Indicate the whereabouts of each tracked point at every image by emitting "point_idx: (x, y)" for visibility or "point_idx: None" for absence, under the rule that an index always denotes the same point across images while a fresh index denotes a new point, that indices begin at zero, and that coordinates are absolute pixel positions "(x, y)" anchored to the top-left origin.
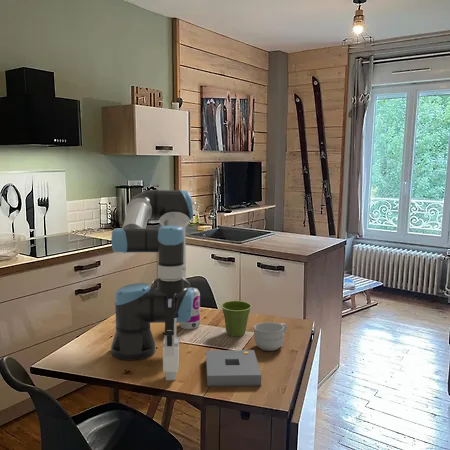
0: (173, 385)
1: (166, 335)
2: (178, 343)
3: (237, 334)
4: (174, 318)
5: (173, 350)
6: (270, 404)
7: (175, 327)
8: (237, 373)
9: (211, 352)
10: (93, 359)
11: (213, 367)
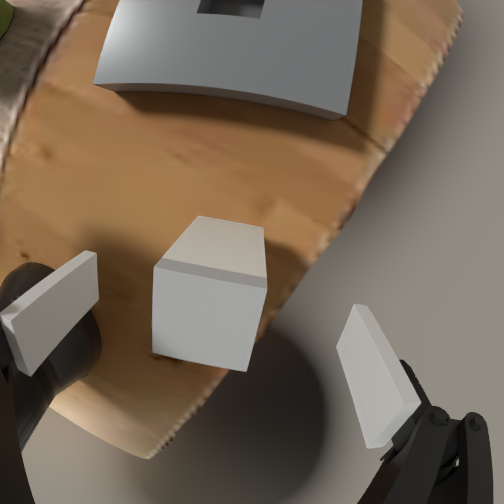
0: (289, 238)
1: (388, 436)
2: (198, 262)
3: (8, 17)
4: (8, 330)
5: (377, 329)
6: (446, 13)
7: (54, 290)
8: (346, 6)
9: (115, 61)
10: (105, 400)
11: (271, 68)
